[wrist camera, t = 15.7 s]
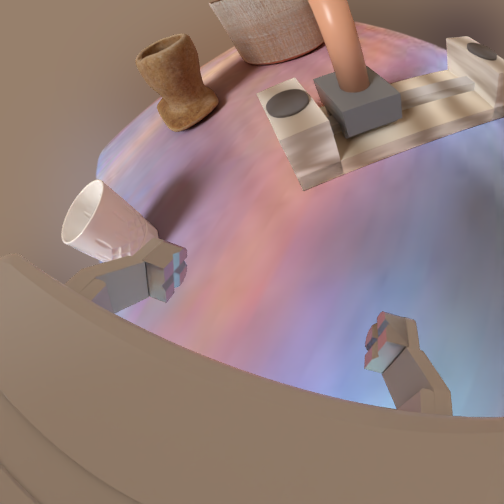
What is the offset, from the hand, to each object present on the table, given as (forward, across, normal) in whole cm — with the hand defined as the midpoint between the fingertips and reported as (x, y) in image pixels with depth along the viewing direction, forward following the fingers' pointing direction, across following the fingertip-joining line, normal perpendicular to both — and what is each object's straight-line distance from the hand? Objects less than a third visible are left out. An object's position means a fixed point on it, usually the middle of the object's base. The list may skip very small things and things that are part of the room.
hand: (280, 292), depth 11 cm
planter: (+49, -12, +15) cm, 53 cm away
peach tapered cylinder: (+22, +3, +6) cm, 23 cm away
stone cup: (+38, -24, +1) cm, 44 cm away
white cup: (+15, -19, -14) cm, 28 cm away
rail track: (+25, +8, +8) cm, 27 cm away
